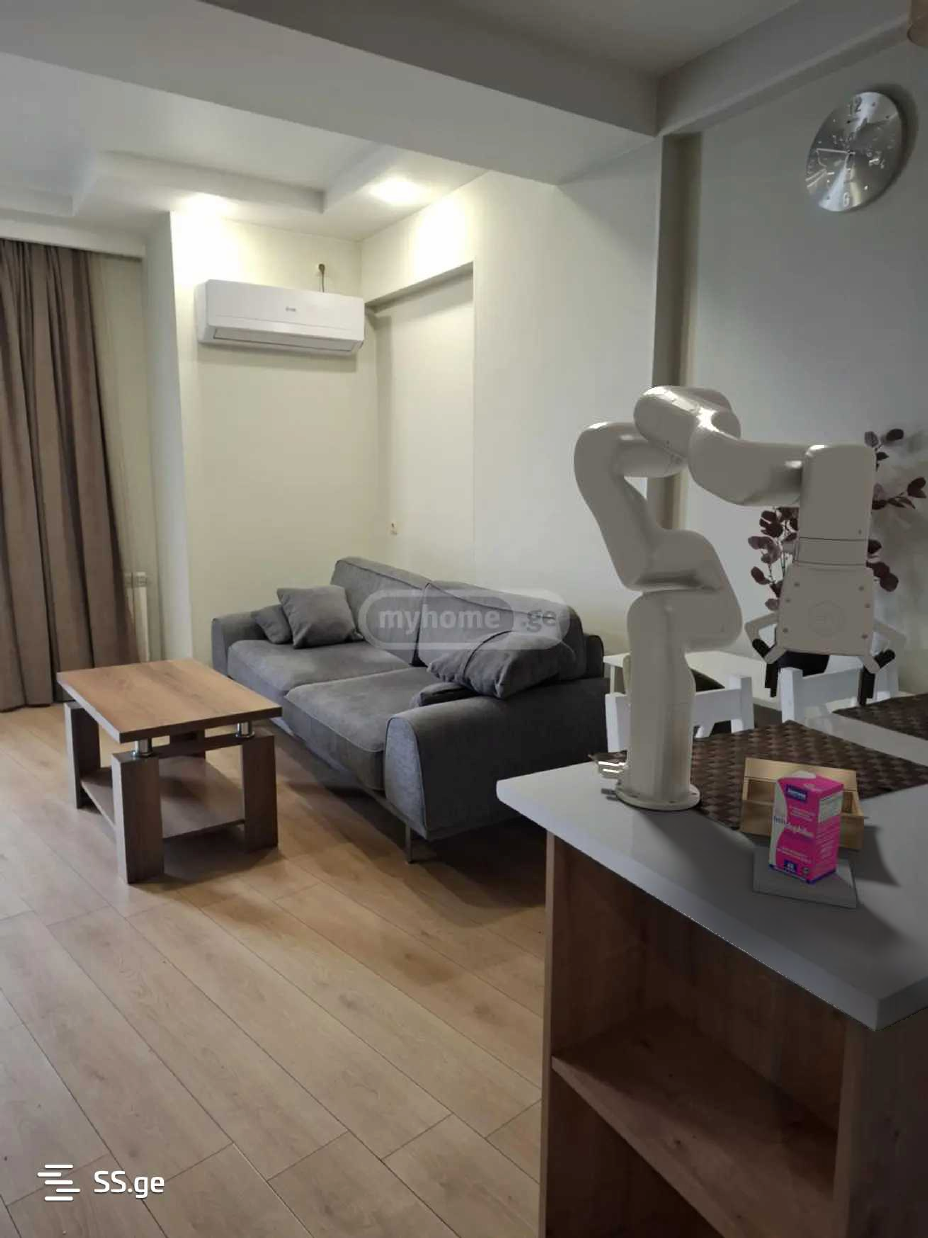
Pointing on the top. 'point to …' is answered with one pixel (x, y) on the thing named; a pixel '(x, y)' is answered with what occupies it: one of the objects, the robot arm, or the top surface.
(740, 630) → the robot arm
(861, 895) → the top surface
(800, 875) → the supplement box
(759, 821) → the wooden crate
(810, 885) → the mat
